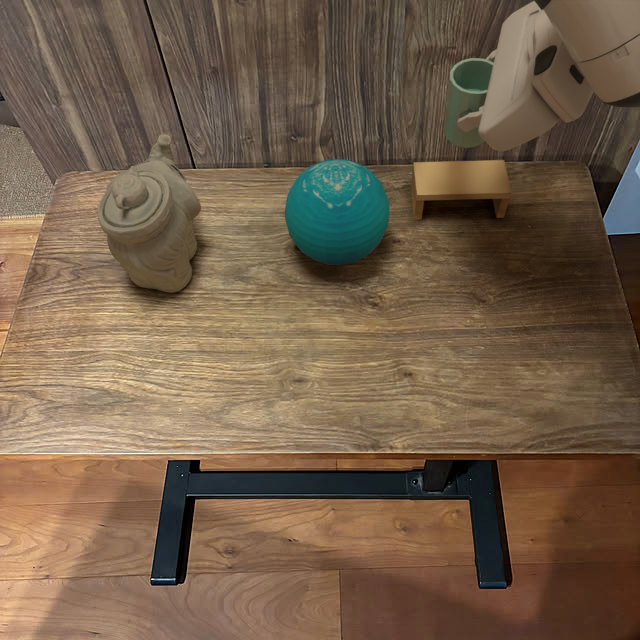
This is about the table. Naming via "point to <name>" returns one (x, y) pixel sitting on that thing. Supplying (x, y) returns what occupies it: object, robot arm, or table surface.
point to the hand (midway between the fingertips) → (466, 102)
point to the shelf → (460, 183)
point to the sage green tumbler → (466, 98)
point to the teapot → (152, 221)
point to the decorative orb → (337, 212)
